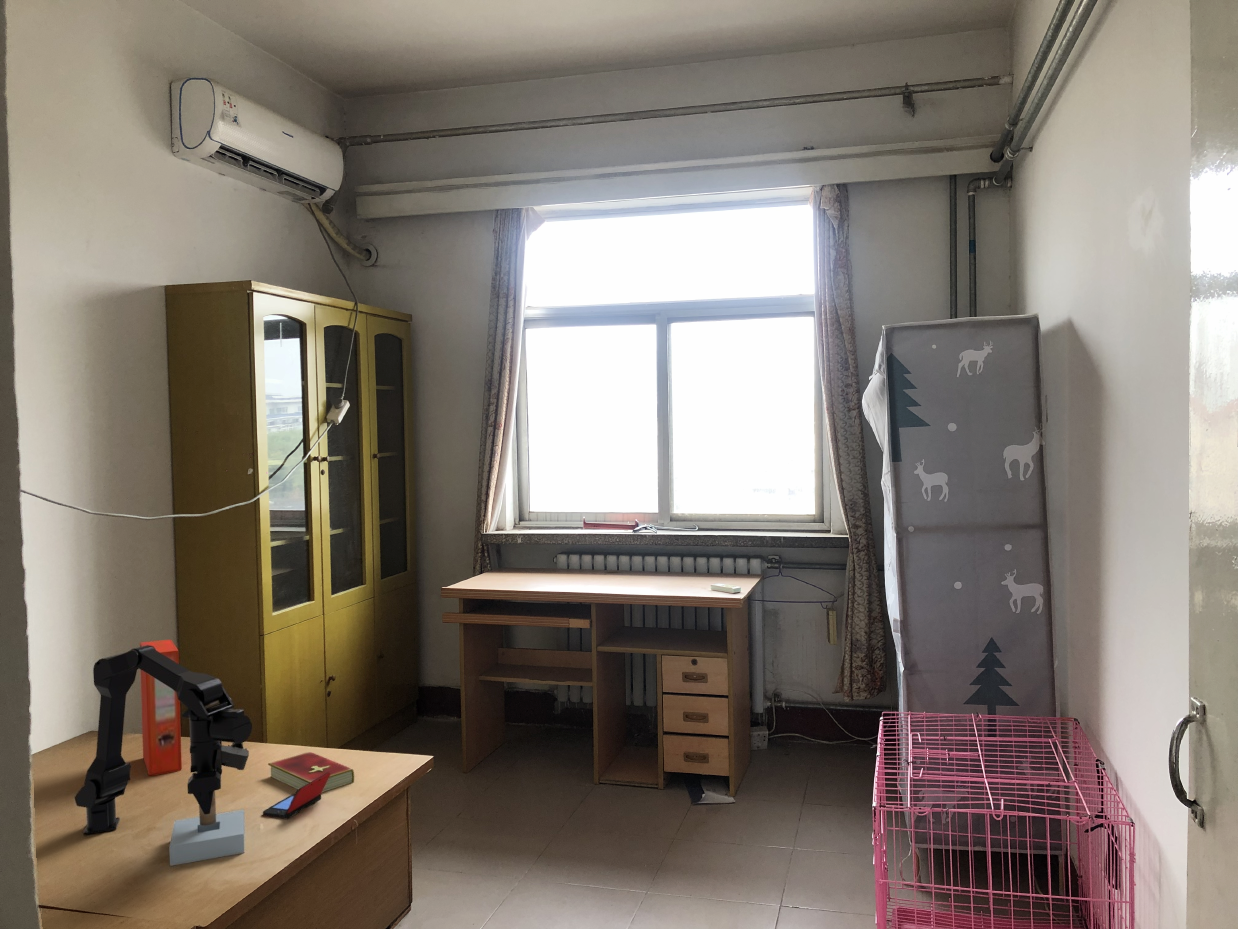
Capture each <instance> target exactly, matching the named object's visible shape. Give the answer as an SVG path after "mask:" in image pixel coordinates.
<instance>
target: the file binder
mask: <svg viewBox="0 0 1238 929" xmlns="http://www.w3.org/2000/svg"><path fill="white" fill-rule="evenodd" d="M145 645H151V646H153V647H154V648H155V649H156V651H158V652H160V653H161V654H163V655H165V656H166V657H168V658H170V659H171V660H173V661H175V662H176V663H178V664H179V665H180V658H179V656H180V655H179V649H178V648H177V647H176V645H175V644H174V642H173V640H172V639H162V640H153V641H145V642H144V641H143V642H140V643H139V647H141V646H145ZM140 698H141V726H142V727H141V730H142V731H141V732H142V757H143V761H144V764H145V768H146V771H147V773H148V776H157V775H163V774H167V773H168V774H169V773H175V772H179V771H182V769H183V768H182V767H183V766H182V764H183V763H182V738H181V737H182V734H181V728H182V727H181V702H180V701H179V700H178V697H177V694H176V692H175V691H174V690H173V689H171V688H170V687H168V686H167V685H165V684H163V683H162V682H160V681H158V680H157V679H155V678H154V677H152V676H150V675H149V674H147V673H146V672H144V671H142V670H141V669H140Z"/></svg>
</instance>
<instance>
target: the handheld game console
mask: <svg viewBox="0 0 1238 929" xmlns="http://www.w3.org/2000/svg"><path fill="white" fill-rule="evenodd" d="M330 774H331V772H327V773H326V774H324V775H322V776H320V777H319V778H317V779H315V780H313V781H312V782H310V783H308V784H306V785H305V786H303V787H301V788H300V789H296V792H295V793H292V794H290V795H289V796H287V797H285V798H283V799H281V800H280V801H278V802H276V803H274V804H272V805H271V806H269V807H268V808H266V809H264V810H263V811H262V816H264V817H269V818H276V819H278V818H279V819H285V820H288V819H290V818H291V817H293V816H295V815H296V814H298V813H300V812H301V811H302V810H303V809H306V808H308V807H310V806H311V805H314V803H316V802H319V801H321V799H322V793H323V792H322V791H323V789H324V787H325V785H326V783H327V780H328V778H329V776H330Z"/></svg>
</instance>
